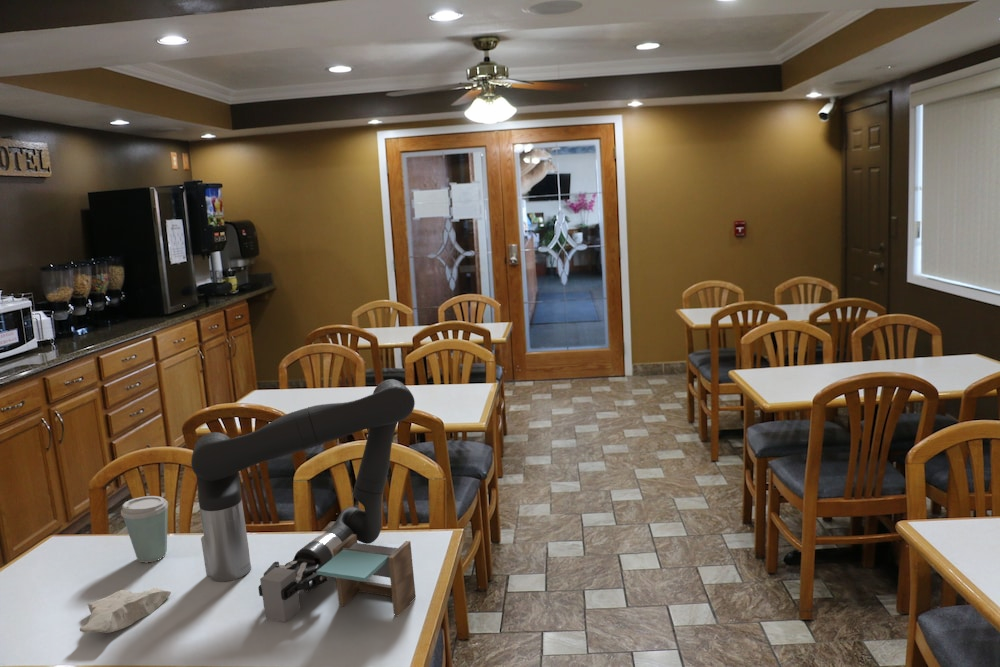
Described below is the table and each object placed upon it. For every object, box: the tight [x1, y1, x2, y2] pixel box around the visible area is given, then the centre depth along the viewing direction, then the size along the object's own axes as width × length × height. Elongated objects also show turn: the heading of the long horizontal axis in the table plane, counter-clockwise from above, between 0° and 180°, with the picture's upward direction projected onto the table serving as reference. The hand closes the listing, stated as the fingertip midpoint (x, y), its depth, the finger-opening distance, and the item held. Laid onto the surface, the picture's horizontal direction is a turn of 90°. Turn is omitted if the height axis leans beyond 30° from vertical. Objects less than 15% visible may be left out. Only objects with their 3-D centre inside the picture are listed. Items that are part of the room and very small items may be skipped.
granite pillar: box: [260, 567, 301, 623], centre depth 164 cm, size 5×5×9 cm
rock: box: [79, 587, 172, 634], centre depth 168 cm, size 21×5×15 cm
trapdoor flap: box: [317, 542, 399, 582], centre depth 161 cm, size 14×11×6 cm
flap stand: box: [333, 534, 417, 616], centre depth 166 cm, size 8×14×13 cm, turn 68°
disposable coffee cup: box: [120, 495, 169, 564], centre depth 194 cm, size 11×11×15 cm
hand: (271, 593), depth 161 cm, fingers closed on granite pillar, 5 cm apart
